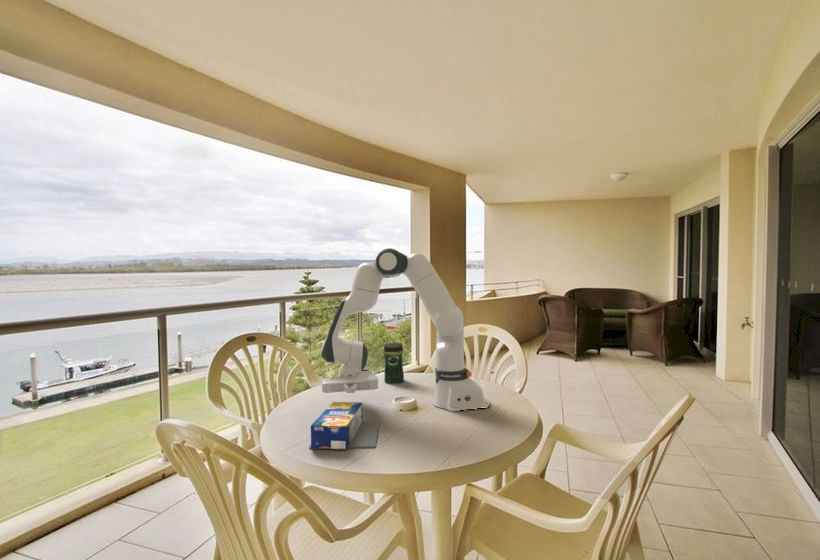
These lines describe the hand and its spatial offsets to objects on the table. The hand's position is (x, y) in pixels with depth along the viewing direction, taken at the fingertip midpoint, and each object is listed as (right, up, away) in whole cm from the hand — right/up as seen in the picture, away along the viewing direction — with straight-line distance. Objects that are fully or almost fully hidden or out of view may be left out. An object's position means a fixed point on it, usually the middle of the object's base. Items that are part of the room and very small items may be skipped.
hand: (350, 390), depth 134 cm
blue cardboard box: (-2, -9, +3) cm, 9 cm away
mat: (0, -12, -8) cm, 15 cm away
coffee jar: (+13, -11, +52) cm, 55 cm away
